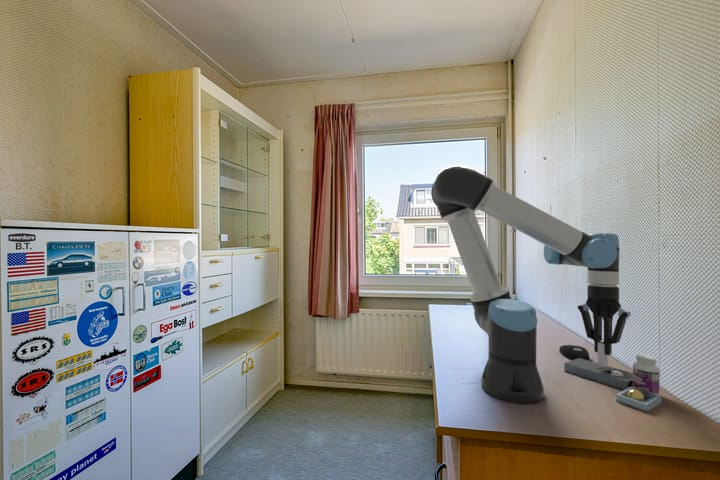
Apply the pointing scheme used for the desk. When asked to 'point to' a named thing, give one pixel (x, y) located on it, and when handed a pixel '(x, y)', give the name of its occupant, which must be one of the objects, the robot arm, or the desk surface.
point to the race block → (599, 373)
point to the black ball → (643, 392)
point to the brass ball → (635, 395)
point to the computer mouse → (574, 352)
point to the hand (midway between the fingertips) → (602, 364)
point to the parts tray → (644, 406)
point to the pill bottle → (646, 373)
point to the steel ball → (617, 373)
